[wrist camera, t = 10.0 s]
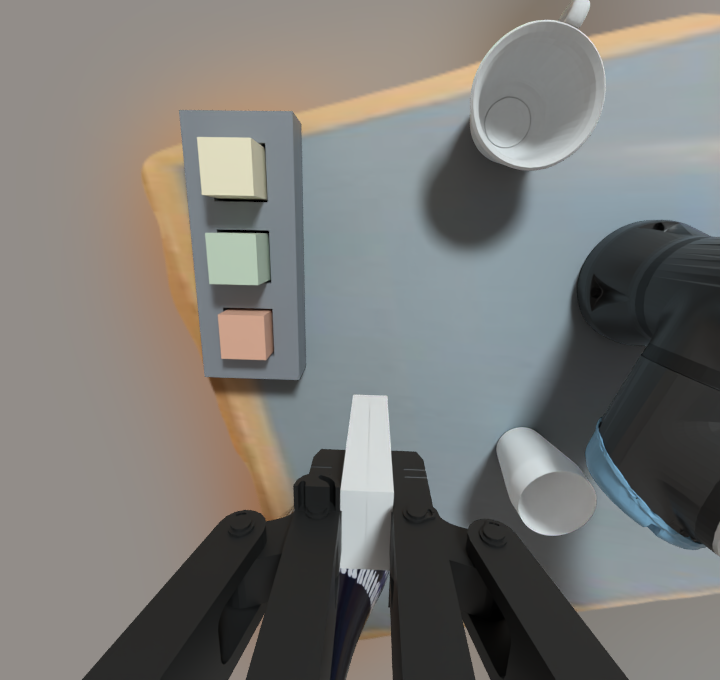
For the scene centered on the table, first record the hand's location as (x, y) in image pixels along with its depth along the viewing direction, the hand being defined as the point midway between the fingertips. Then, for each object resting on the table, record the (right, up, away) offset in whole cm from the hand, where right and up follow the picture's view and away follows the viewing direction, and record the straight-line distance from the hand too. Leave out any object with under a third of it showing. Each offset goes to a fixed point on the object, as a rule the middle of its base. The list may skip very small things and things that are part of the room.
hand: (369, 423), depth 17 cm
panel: (-14, +15, +32) cm, 38 cm away
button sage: (-14, +14, +30) cm, 36 cm away
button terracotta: (-14, +6, +34) cm, 37 cm away
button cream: (-13, +23, +27) cm, 38 cm away
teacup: (+17, +30, +27) cm, 43 cm away
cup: (+22, -12, +38) cm, 46 cm away
